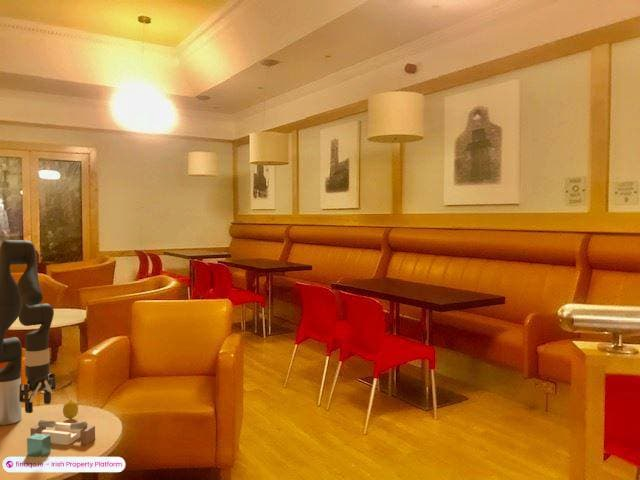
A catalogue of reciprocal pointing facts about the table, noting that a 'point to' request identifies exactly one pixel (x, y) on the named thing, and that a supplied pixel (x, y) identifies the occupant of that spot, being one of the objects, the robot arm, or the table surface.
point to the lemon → (70, 409)
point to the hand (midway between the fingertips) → (38, 408)
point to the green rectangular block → (38, 445)
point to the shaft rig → (65, 431)
